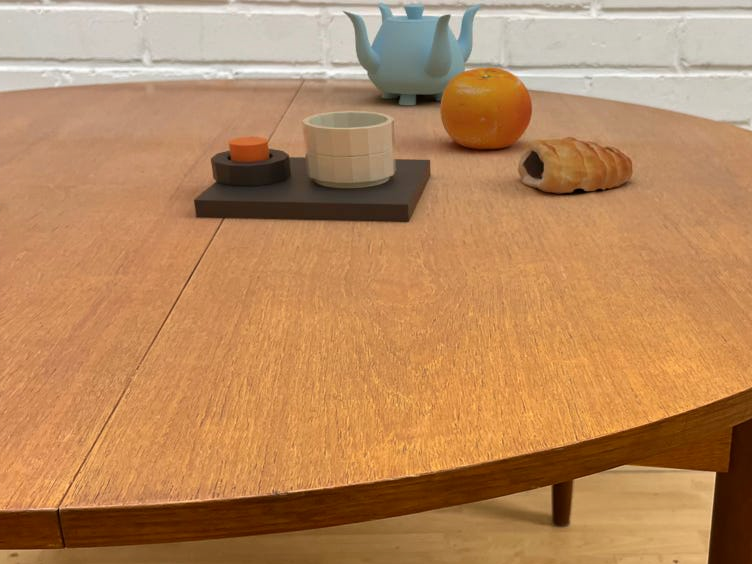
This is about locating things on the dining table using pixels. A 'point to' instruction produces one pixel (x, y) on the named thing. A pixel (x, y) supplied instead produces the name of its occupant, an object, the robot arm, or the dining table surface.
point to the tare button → (249, 149)
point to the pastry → (573, 166)
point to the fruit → (485, 108)
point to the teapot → (413, 52)
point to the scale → (306, 192)
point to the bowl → (349, 148)
